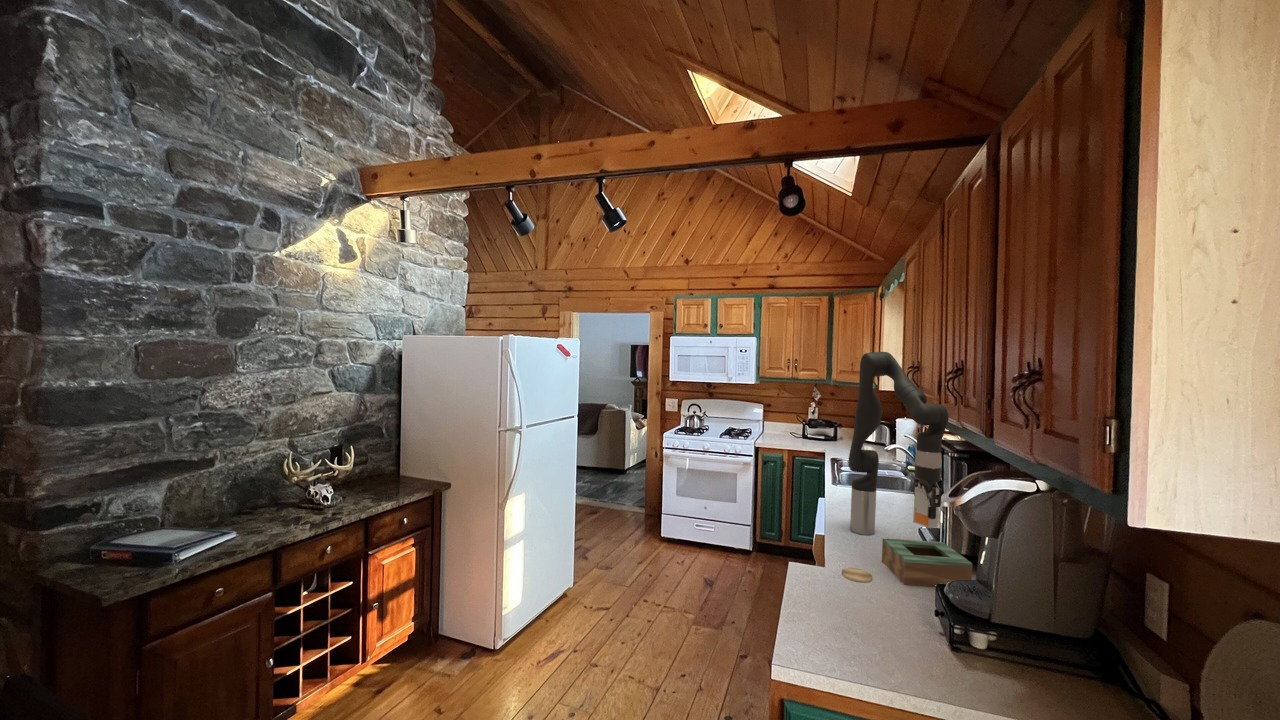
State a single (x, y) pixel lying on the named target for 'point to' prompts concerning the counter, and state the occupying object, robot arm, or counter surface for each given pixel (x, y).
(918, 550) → the caddy
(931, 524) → the skincare box
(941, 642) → the counter surface
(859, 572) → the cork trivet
